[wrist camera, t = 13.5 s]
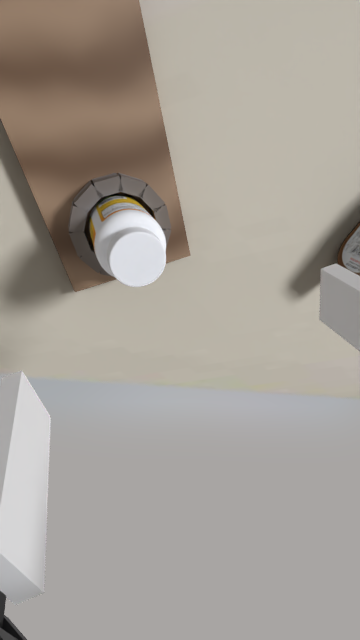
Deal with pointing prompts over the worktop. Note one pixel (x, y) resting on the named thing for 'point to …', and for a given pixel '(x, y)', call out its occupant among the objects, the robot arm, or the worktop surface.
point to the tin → (351, 251)
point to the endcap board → (86, 120)
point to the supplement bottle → (127, 240)
